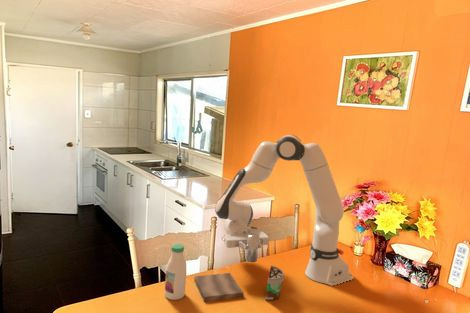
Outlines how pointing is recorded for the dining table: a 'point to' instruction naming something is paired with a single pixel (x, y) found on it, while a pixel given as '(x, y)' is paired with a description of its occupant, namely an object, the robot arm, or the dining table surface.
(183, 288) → the milk bottle
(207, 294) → the walnut board
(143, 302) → the dining table surface
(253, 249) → the silver can
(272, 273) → the food container
